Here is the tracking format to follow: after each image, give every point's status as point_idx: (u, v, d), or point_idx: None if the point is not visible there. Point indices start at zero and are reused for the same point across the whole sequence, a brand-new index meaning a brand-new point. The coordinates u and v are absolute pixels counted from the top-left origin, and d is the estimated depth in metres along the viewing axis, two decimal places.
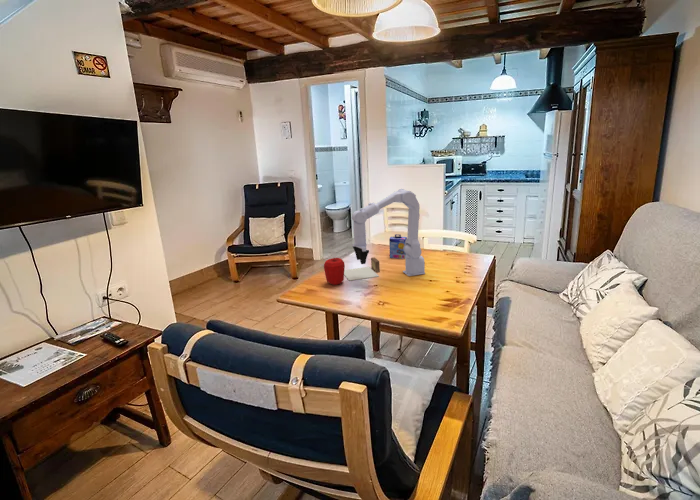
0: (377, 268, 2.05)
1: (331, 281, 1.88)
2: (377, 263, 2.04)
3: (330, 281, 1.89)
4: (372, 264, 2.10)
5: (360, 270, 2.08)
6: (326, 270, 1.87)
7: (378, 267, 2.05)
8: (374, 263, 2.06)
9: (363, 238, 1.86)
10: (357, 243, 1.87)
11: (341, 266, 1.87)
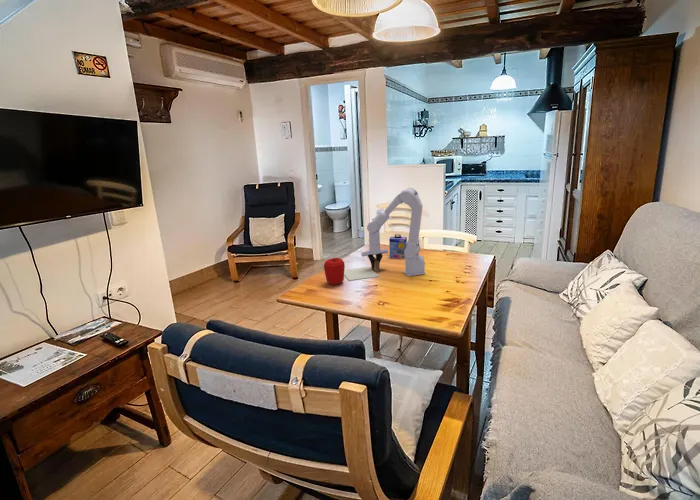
0: (377, 268, 2.05)
1: (331, 281, 1.88)
2: (377, 263, 2.04)
3: (330, 281, 1.89)
4: None
5: (360, 270, 2.08)
6: (326, 270, 1.87)
7: (378, 267, 2.05)
8: (374, 263, 2.06)
9: (370, 246, 2.04)
10: None
11: (341, 266, 1.87)
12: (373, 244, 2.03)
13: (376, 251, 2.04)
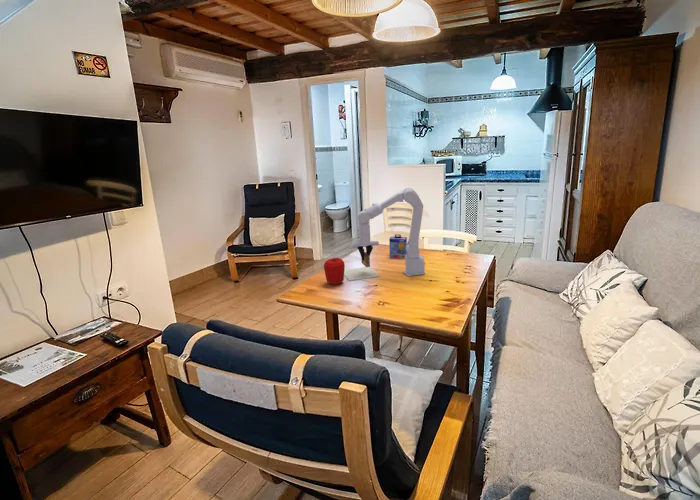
0: (367, 263, 1.97)
1: (331, 281, 1.88)
2: (367, 257, 1.97)
3: (330, 281, 1.89)
4: None
5: (360, 270, 2.08)
6: (326, 270, 1.87)
7: (368, 261, 1.97)
8: (364, 257, 1.99)
9: (360, 237, 1.96)
10: None
11: (341, 266, 1.87)
12: (363, 235, 1.95)
13: (366, 243, 1.96)
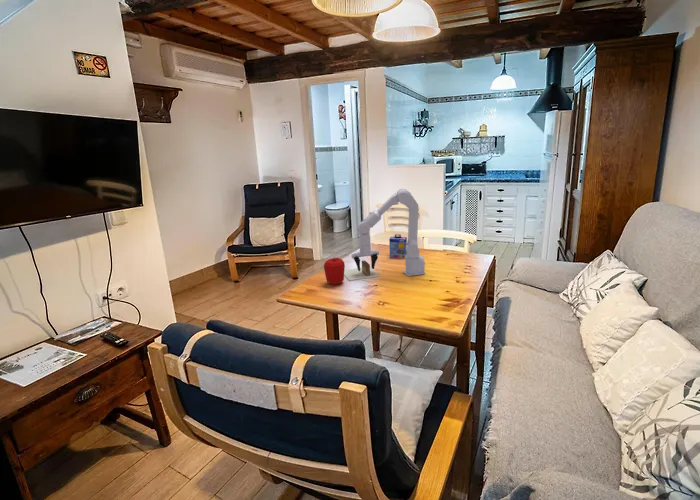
0: (367, 272, 1.99)
1: (331, 281, 1.88)
2: (367, 266, 1.98)
3: (330, 281, 1.89)
4: (362, 267, 2.04)
5: (360, 270, 2.08)
6: (326, 270, 1.87)
7: (368, 271, 1.99)
8: (364, 266, 2.00)
9: (360, 247, 1.97)
10: None
11: (341, 266, 1.87)
12: (363, 245, 1.96)
13: (366, 253, 1.97)
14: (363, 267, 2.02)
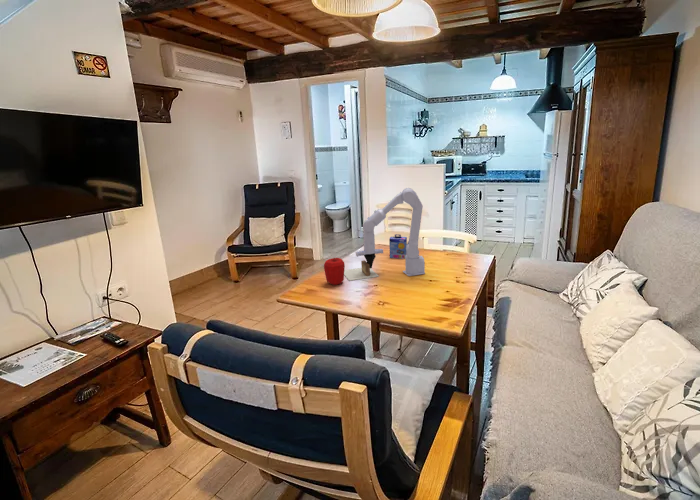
0: (367, 272, 1.99)
1: (331, 281, 1.88)
2: (367, 266, 1.98)
3: (330, 281, 1.89)
4: (362, 267, 2.04)
5: (360, 270, 2.08)
6: (326, 270, 1.87)
7: (368, 270, 1.99)
8: (364, 266, 2.00)
9: (365, 246, 1.98)
10: None
11: (341, 266, 1.87)
12: (368, 244, 1.96)
13: (371, 251, 1.97)
14: (363, 267, 2.02)
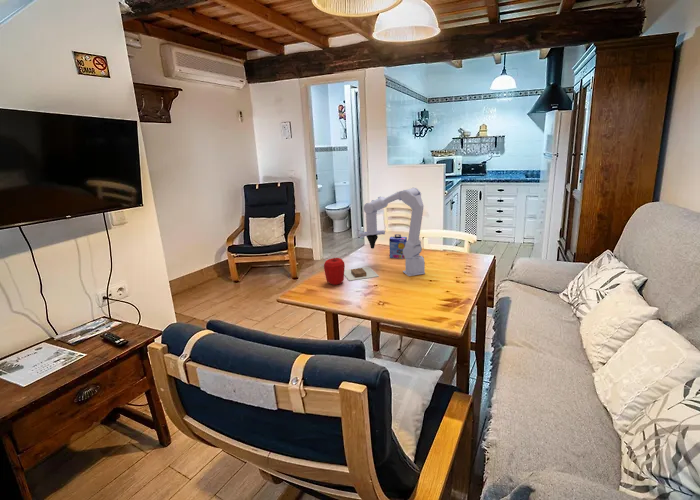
0: (362, 275, 1.98)
1: (331, 281, 1.88)
2: (357, 275, 1.98)
3: (330, 281, 1.89)
4: None
5: None
6: (326, 270, 1.87)
7: (361, 274, 1.98)
8: None
9: (367, 227, 2.08)
10: None
11: (341, 266, 1.87)
12: (370, 225, 2.07)
13: (373, 232, 2.08)
14: None
